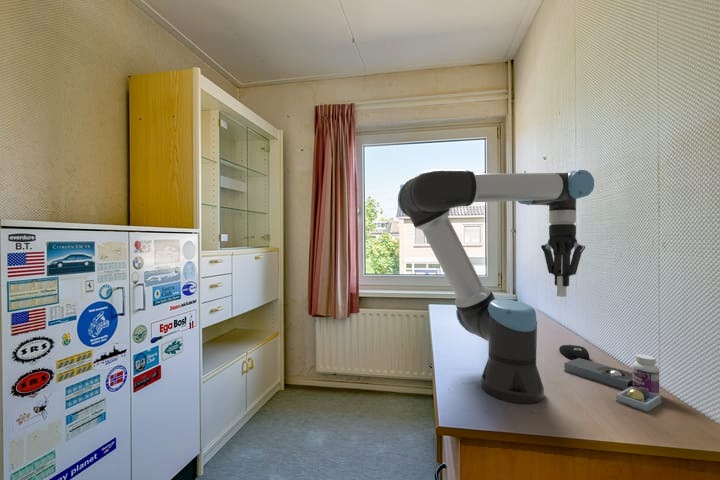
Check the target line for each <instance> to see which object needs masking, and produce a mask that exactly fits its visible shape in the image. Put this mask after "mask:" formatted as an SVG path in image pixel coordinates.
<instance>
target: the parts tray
mask: <svg viewBox="0 0 720 480" xmlns="http://www.w3.org/2000/svg"><path fill="white" fill-rule="evenodd" d="M630 389H636V388H635V387H630V388H628V389H626V390H622V391H619V392H618V393H617V394H616V402H617V403H620V404H622V405H626V406H628V407H631V408H634V409H636V410H639V411H642V412H645V413H648V412H650V411H651V410H653V409H655V408H656V407H658V406H659V405H660V404H662V395H660V394H659V395H657V394H654V393H651V392H649V398H648V399H644V401H643V402H640V401H637V400H634V399H631V398H628V396H627V392H628V391H629V390H630Z"/></svg>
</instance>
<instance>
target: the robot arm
mask: <svg viewBox="0 0 720 480" xmlns="http://www.w3.org/2000/svg"><path fill="white" fill-rule="evenodd" d="M594 189H595V179H594V176H593V175H592V173H591V172H589V171H588V170H585V169H579V170H572V171H570V172H535V173H534V172H533V173H532V172H531V173H530V172H529V173H525V172H523V173H521V172H520V173H518V172H517V173H516V172H515V173H511V172H509V173H507V172H505V173H502V172H501V173H475V172H474V171H472V170H471V169H449V168H447V169H444V168H443V169H430V170H425V171H424V172H421V173H420V174H419V175H416V176H415V177H413V178H410V179H409V180H407V181H406V182H405V183H404V184H403V185H402V186H401V188H400V189H399V190H398V191H399V192H398V194H397V204H398V207H399V209H400V211H401V212H402V213H403V214H404V215H405V216H406V217H409V218H410V220H411V222H412V224H413V226H414V228H416V229H418V230H421V231H422V232H423V234H424V237H425V239H426V241H427V242H428V244H429V246H430V248H431V250H432V252H433V254H434V256H435V257H436V260H437V262H438V264H439V265H440V267H441V269H442V272H443V273H444V275H445V277H446V279H447V281H448V283H449V285H450V286H451V289H452V291H453V292H454V295H455V296H456V297H455V299H454V305H455V307H456V315H455V316H456V318H457V321H458V323H459V325H461V327H463V329H465V330H466V331H467V332H468V333H470V334H472V335H475V336H477V337H479V338H480V339H482V340H485V341H487V342H488V357H487V362H486V363H485V367H484V369H483V372H482V375H481V388H482V389H483V390H484V391H485V392H486V393H487V394H489V395H490V396H493V397H495V398H497V399H500V400H503V401H506V402H511V403H516V404H536V403H539V402H541V401H543V400H544V397H545V392H544V391H545V388H544V385H543V381H542V378H541V375H540V372H539V369H538V366H537V343H538V342H537V341H538V340H537V338H538V336H537V335H538V333H537V332H538V321H537V312H536V310H535V308H534V307H533V306H531V305H530V304H528V303H525V302H522V301H518V300H513V299H508V298H507V299H506V298H495V295H494V293H493V292H492V290H491V288H490V287H489V286H486V285H483V283H482V282H481V279H480V277H479V275H478V273H477V272H476V269H475V268H474V266H473V264H472V262H471V260H470V258H469V256H468V254H467V251H466V250H465V248H464V246H463V243H462V242H461V240H460V238H459V236H458V234H457V232H456V230H455V228H454V226H453V223H452V222H451V220H450V218H449V216H450V211H451V209H454V208H458V207H459V208H461V207H470V206H471V205H473V204H474V203H493V202H496V203H497V202H499V203H500V202H517V203H519V204H520V205H527V206H530V205H532V206H548V212H549V213H548V223H549V224H550V225H548V236H549V239H547V240H548V241H547V243H545V244H541V246H540V248H541V250H542V251H543V254H544V258H545V259H544V260H545V263H546V267H547V268H546V269H547V271H548V273H549V274H552V275H553V277H554V285H555V286H556V296H557V297H561V298H562V297H567V287H570V277H571V276H575V275H577V271H578V268H579V264H580V260H581V257H582V254H583V252H584V251H585V249H586V246H585V245H582V244H580V243H579V242H578V240H577V238H576V236H577V225H576V224H575V223H576V222H577V200H578V199H580V198H584V197H587V196H589V195H590V194H592V193H593V191H594ZM573 249H574V250H573ZM572 250H573V254H572ZM552 251H553V252H552ZM571 255H572V256H571Z"/></svg>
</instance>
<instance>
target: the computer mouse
mask: <svg viewBox="0 0 720 480" xmlns="http://www.w3.org/2000/svg"><path fill="white" fill-rule="evenodd" d="M558 351H559V353H560V354H561V355H562V356H564V357H565V358H566V359H568V360H569V361H572V360H575V359H577V358H581V359H584V360H588V361H590V353H589V351H588V349H586V347H584V346H581V345H575V344H574V345H573V344H572V343H569V344H563V345H560V346H559V348H558Z"/></svg>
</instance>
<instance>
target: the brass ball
mask: <svg viewBox="0 0 720 480" xmlns="http://www.w3.org/2000/svg"><path fill="white" fill-rule="evenodd" d="M627 396H628V398H631V399H634V400H637V401H640V402H643V401H644V396H643V394H642V393H641V392H640V391H639V390H636V389H630V390H629V391H628V392H627Z"/></svg>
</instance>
